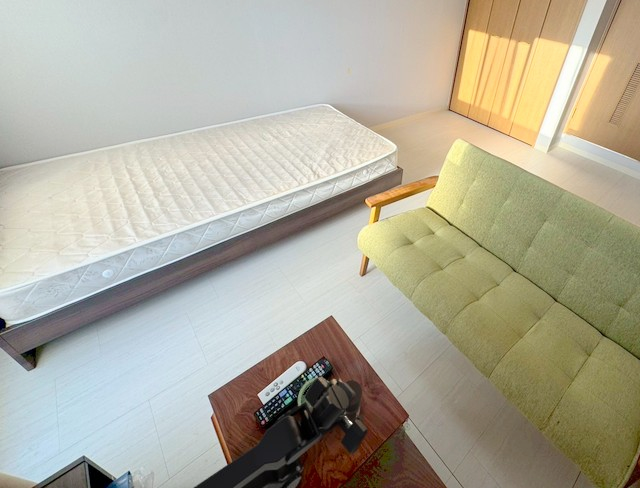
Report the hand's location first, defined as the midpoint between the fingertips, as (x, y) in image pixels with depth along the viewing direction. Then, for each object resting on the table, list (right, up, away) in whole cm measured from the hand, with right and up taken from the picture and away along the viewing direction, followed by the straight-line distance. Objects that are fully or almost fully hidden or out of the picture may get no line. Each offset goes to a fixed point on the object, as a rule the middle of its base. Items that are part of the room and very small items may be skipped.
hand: (351, 402), depth 85 cm
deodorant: (-1, -7, +5) cm, 8 cm away
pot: (-12, -4, +6) cm, 13 cm away
